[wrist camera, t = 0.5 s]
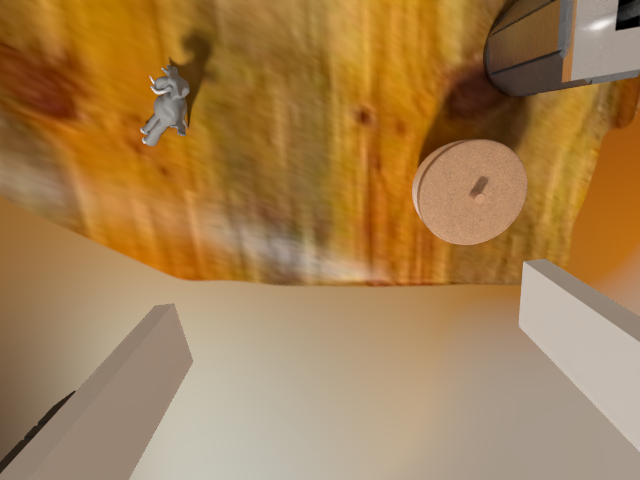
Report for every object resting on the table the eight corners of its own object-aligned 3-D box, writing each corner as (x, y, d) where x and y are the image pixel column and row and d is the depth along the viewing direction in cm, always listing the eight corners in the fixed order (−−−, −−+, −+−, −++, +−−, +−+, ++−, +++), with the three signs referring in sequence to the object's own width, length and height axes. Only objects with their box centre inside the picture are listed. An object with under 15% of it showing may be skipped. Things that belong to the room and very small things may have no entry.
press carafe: (483, -27, 33) (577, -119, 21) (577, -45, 32) (731, -150, 20) (483, 103, 37) (562, 90, 25) (567, 89, 36) (691, 69, 24)
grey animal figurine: (117, 94, 37) (152, 32, 33) (169, 115, 42) (206, 64, 37) (123, 165, 34) (163, 107, 29) (179, 179, 38) (221, 131, 34)
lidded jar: (407, 232, 42) (430, 260, 33) (396, 148, 39) (417, 153, 30) (493, 215, 41) (539, 239, 32) (488, 127, 38) (538, 127, 29)
